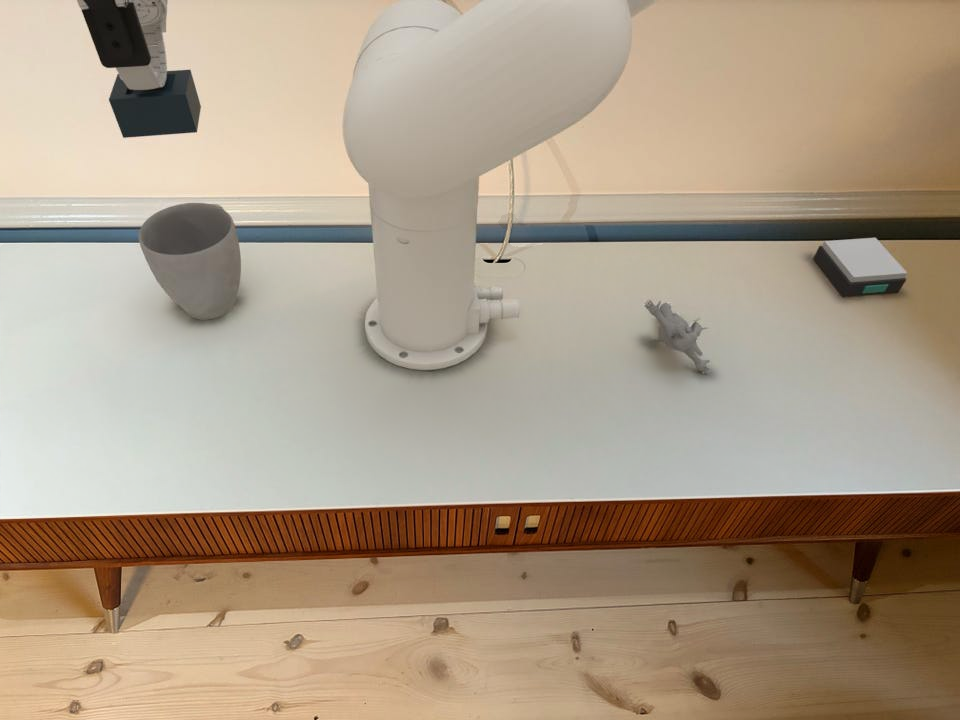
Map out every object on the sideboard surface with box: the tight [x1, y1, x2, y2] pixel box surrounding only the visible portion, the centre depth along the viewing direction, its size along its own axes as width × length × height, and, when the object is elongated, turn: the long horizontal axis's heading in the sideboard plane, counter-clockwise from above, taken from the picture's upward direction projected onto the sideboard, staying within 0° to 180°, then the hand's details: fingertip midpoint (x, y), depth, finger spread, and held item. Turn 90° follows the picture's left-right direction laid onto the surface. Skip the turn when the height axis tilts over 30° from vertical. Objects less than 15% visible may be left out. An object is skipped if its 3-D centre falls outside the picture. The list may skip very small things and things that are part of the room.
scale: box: [812, 237, 908, 298], centre depth 81 cm, size 7×7×3 cm
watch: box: [108, 0, 202, 139], centre depth 52 cm, size 6×8×11 cm
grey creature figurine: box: [644, 299, 712, 375], centre depth 70 cm, size 10×6×9 cm
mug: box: [138, 202, 242, 321], centre depth 72 cm, size 12×9×10 cm
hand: (136, 38), depth 51 cm, fingers closed on watch, 8 cm apart
